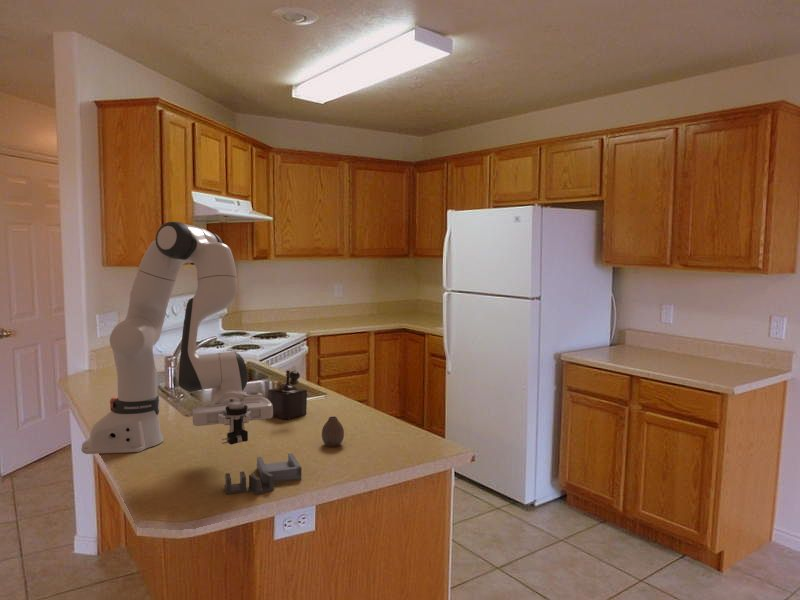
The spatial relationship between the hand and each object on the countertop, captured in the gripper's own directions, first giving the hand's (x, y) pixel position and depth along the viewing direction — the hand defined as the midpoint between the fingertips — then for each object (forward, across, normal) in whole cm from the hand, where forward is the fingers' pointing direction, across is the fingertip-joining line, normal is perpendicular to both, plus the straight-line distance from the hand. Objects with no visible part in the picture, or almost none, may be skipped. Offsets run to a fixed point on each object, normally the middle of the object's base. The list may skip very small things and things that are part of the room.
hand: (236, 421), depth 144 cm
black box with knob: (-59, +26, +18) cm, 67 cm away
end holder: (-6, +11, +18) cm, 22 cm away
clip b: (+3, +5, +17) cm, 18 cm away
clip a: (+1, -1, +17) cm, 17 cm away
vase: (-24, +32, +18) cm, 43 cm away
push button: (-1, 0, +6) cm, 6 cm away
